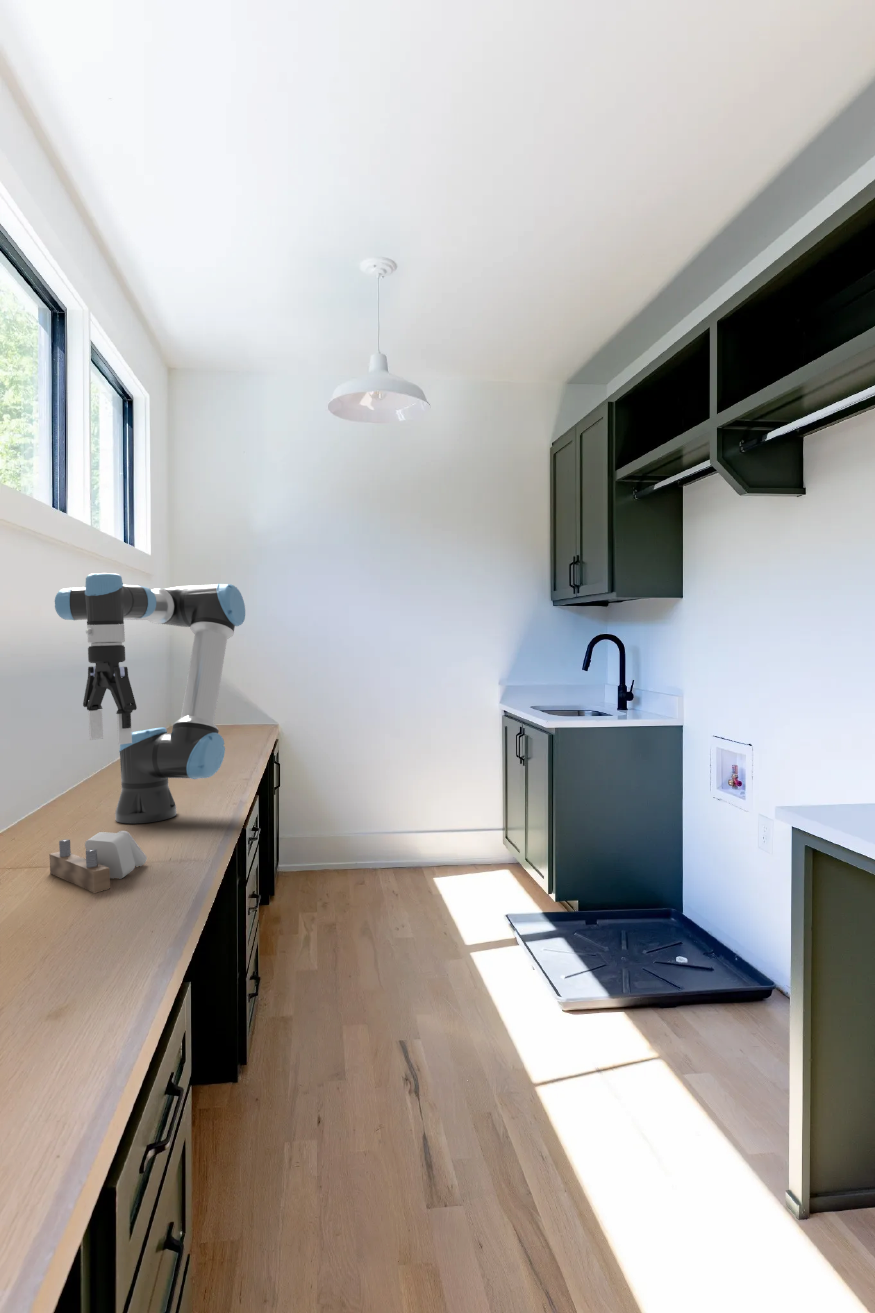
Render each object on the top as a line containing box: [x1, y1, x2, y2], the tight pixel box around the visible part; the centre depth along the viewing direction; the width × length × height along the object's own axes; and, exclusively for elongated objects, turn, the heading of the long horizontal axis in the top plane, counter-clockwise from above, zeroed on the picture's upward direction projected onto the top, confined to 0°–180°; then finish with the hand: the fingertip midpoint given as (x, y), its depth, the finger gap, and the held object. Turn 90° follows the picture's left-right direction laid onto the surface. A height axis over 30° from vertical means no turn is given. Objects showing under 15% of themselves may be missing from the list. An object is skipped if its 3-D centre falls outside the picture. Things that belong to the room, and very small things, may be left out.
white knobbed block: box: [84, 830, 148, 880], centre depth 165 cm, size 8×10×10 cm
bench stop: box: [48, 839, 111, 894], centre depth 159 cm, size 20×3×7 cm, turn 47°
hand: (110, 741), depth 178 cm, fingers open, 13 cm apart
